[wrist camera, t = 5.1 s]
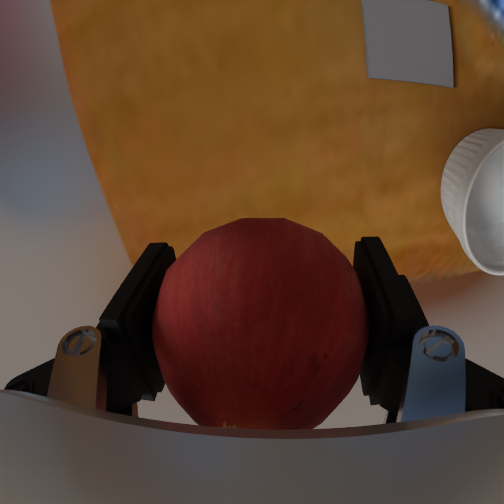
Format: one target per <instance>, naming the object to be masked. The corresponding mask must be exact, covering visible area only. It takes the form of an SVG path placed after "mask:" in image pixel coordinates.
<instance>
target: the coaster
mask: <svg viewBox="0 0 504 504" xmlns="http://www.w3.org/2000/svg"><path fill="white" fill-rule="evenodd" d="M361 5H362V14H363V24H364V35H365V48H366V63H367V78H374V79H387V80H398V81H408V82H416V83H424V84H431V85H438V86H444V87H451V88H453V56H452V41H451V30H450V20H449V12H448V5H445V4H441V3H437V2H432V1H428V0H361Z"/></svg>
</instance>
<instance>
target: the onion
mask: <svg viewBox="0 0 504 504" xmlns="http://www.w3.org/2000/svg"><path fill="white" fill-rule="evenodd" d="M369 334H370V317H369V312H368V308H367V304H366V300H365V297H364V294H363V291H362V288H361V285H360V282H359V279H358V276H357V273H356V271H355V270H354V268H353V267H352V265H351V264H350V262H349V260H348V259H347V257H346V256H345V255H344V254H343V253H342V252H341V251H340V250H338V249H337V248H336V247H335V246H334V245H333V244H332V243H331V242H330V241H329V240H328V239H327V238H326V237H325V236H324V235H323V234H322V233H320V232H317V231H315V230H312V229H310V228H307V227H305V226H303V225H300V224H298V223H295V222H293V221H290V220H288V219H285V218H243V219H239V220H236V221H233V222H231V223H228V224H225V225H223V226H220V227H218V228H215V229H212V230H210V231H207V232H205V233H203V234H202V235H201V236H200V237H199V238H198V239H197V240H196V241H195V242H194V243H193V244H192V245H191V246H190V247H189V248H188V249H187V250H186V251H185V252H184V253H183V254H182V255H181V256H180V257H179V258H178V259H177V260H176V261H175V262H174V263H173V264H172V265H171V266H170V267H169V268H168V269H167V271H166V274H165V277H164V280H163V283H162V285H161V288H160V292H159V295H158V299H157V302H156V306H155V310H154V313H153V317H152V341H153V345H154V349H155V353H156V357H157V360H158V363H159V367H160V370H161V373H162V376H163V379H164V381H165V383H166V385H167V387H168V389H169V391H170V393H171V394H172V396H173V397H174V398H175V399H176V401H177V402H178V403H179V405H180V406H181V407H182V408H183V409H184V410H185V411H186V412H187V414H188V415H189V416H190V417H191V418H192V419H193V420H194V421H195V422H196V423H197V424H198V425H199V426H210V427H223V428H239V429H267V430H302V429H313V428H314V427H316V426H318V425H319V424H321V423H322V422H323V421H324V420H325V419H326V418H327V417H328V416H329V415H330V414H331V412H333V410H334V409H335V408H336V407H337V406H338V405H339V404H340V403H341V402H342V400H343V399H344V398H345V397H346V396H347V395H348V393H349V392H350V390H351V389H352V387H353V386H354V384H355V383H356V381H357V379H358V377H359V374H360V372H361V369H362V366H363V363H364V359H365V355H366V350H367V346H368V342H369Z"/></svg>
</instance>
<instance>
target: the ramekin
mask: <svg viewBox="0 0 504 504" xmlns="http://www.w3.org/2000/svg"><path fill="white" fill-rule="evenodd" d="M441 201H442V207H443V209H444V214H445V216H446V218H447V221H448V223H449V224H450V226H451V228H452V229H453V231H454V233H455V234H456V236H457V237H458V239H459V240H460V243H461V245H462V248H463V250H464V251H465V253H466V254H467V256H468V257H469V258H470V259H471V260H472V262H473V263H474V264H475V265H476V266H477V267H478V268H480V269H481V270H483V271H484V272H487V273H489V274H492V275H504V130H503V129H492V128H489V129H481V130H478V131H475V132H474V133H471V134H469V135H468V136H466V137H465V138H464V139H463V140H461V141H460V142H459V143H458V145H457V146H456V147H455V148H454V150H453V151H452V153H451V154H450V156H449V158H448V160H447V162H446V165H445V167H444V171H443V174H442V181H441Z"/></svg>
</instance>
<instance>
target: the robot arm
mask: <svg viewBox="0 0 504 504" xmlns="http://www.w3.org/2000/svg"><path fill="white" fill-rule="evenodd" d="M175 261H176V257H175V252H174V249H173V247H172V246H168V244H167V243H166V242H164V243H150V244H149V245H148V246H147V248H146V249H145V251H144V252H143V253H142V255H141V256H140V258H139V259H138V261H137V262H136V263H135V265H134V266H133V268H132V269H131V271H130V272H129V274H128V275H127V277H126V278H125V280H124V281H123V283H122V284H121V286H120V287H119V289H118V290H117V292H116V293H115V295H114V296H113V298H112V300H111V301H110V302H109V304H108V305H107V307H106V309H105V310H104V312H103V313H102V315H101V317H100V318H99V321H100V322H99V324H98V325H97V327H96V328H95V327H92V326H81V327H77V328H75V329H73V330H71V331H69V332H68V333H66V334H65V335H64V336H63V337H62V339H61V340H60V342H59V344H58V347H57V351H56V355H55V358H54V359H52V360H50V361H48V362H45V363H43V364H41V365H39V366H37V367H35V368H33V369H31V370H29V371H27V372H25V373H23V374H21V375H19V376H17V377H15V378H14V379H12V380H11V381H10V382H9V383H8V384H7V385H6V387H5V388H4V390H0V504H504V378H502V377H500V376H498V375H496V374H494V373H493V372H490V371H489V370H487V369H485V368H483V367H481V366H479V365H477V364H475V363H474V362H472V361H470V360H468V359H466V358H465V348H464V344H463V341H462V340H461V338H460V337H459V336H458V335H457V334H456V333H455V332H454V331H452V330H450V329H448V328H445V327H442V326H433V325H432V326H429V324H428V322H427V320H426V317H425V315H424V313H423V311H422V309H421V307H420V305H419V302H418V300H417V298H416V296H415V294H414V292H413V290H412V288H411V286H410V284H409V282H408V280H407V278H406V276H405V275H398V273H397V271H396V269H395V267H394V265H393V263H392V261H391V259H390V257H389V255H388V253H387V251H386V249H385V247H384V245H383V243H382V241H381V239H380V238H379V237H362V238H361V241H356V242H355V250H354V261H353V268H354V270H355V271H356V273H357V276H358V279H359V282H360V285H361V288H362V291H363V294H364V297H365V300H366V304H367V308H368V312H369V317H370V334H369V342H368V346H367V350H366V355H365V359H364V363H363V366H362V369H361V372H360V379H361V384H362V390H363V394H364V396H367V395H369V398H370V404H371V405H378V404H380V406H381V407H383V408H384V409H386V414H385V419H384V423H383V424H380V425H371V426H360V427H348V428H331V429H302V430H267V429H239V428H223V427H210V426H199V425H189V424H180V423H172V422H165V421H158V420H151V419H145V418H139V417H138V405H137V402H139V401H140V400H141V399H142V400H150V401H155V398H156V395H157V392H161V391H162V390H163V388H164V385H165V381H164V379H163V376H162V373H161V370H160V367H159V363H158V360H157V357H156V353H155V349H154V345H153V341H152V317H153V313H154V310H155V306H156V302H157V299H158V295H159V292H160V288H161V285H162V283H163V280H164V277H165V274H166V271H167V269H168V268H169V267H170V266H171V265H172V264H173V263H174V262H175Z"/></svg>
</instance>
